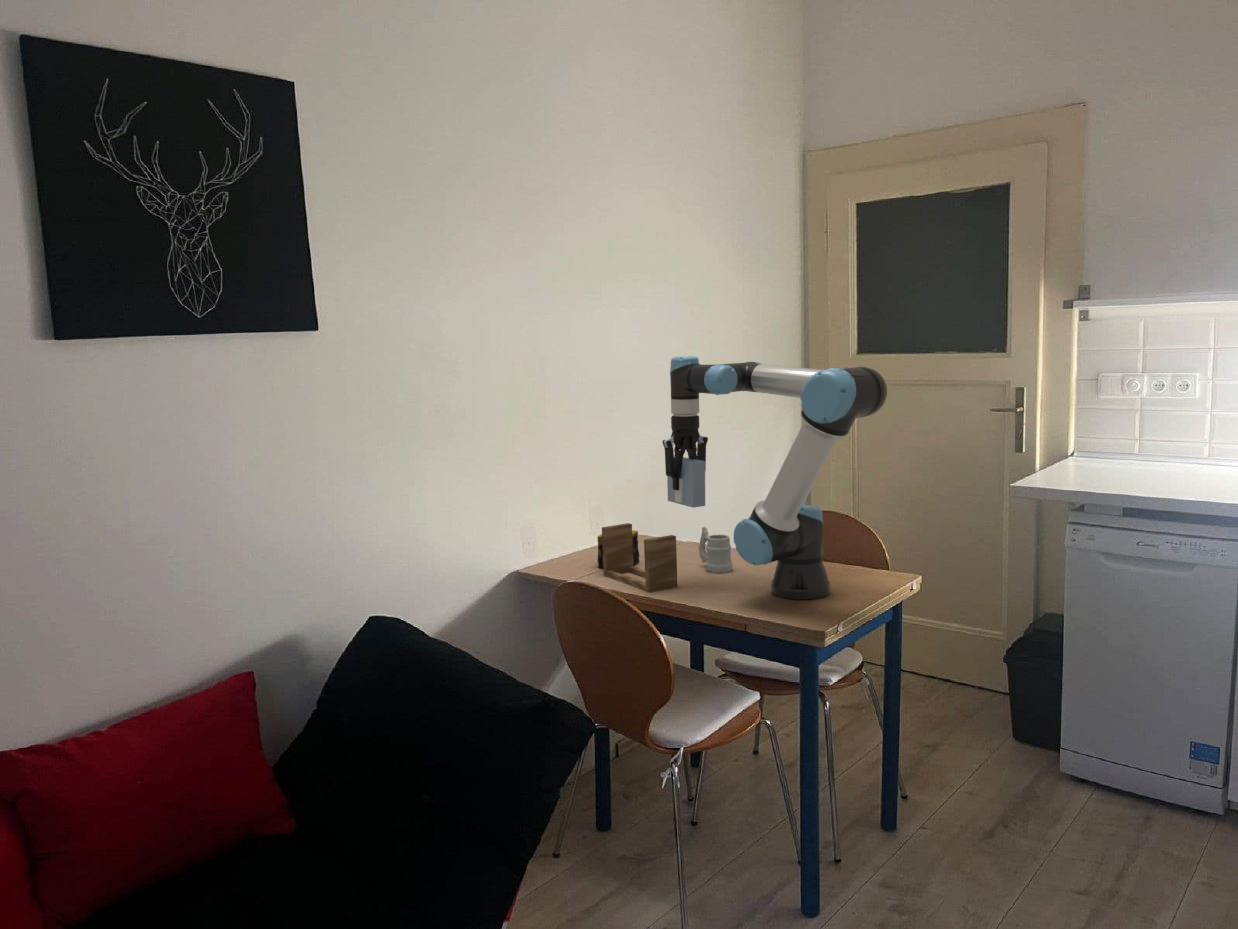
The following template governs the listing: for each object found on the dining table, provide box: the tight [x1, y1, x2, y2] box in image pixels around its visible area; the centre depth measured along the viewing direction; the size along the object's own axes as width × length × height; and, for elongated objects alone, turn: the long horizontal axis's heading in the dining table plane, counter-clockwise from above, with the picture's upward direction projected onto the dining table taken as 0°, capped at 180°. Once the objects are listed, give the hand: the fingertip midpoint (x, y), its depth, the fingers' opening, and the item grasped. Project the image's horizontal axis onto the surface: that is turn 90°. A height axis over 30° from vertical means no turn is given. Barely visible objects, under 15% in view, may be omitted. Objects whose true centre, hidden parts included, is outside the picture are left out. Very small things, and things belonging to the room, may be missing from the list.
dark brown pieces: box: [597, 530, 640, 570], centre depth 276 cm, size 10×10×10 cm
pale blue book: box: [666, 456, 706, 508], centre depth 248 cm, size 12×4×12 cm, turn 31°
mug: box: [698, 526, 734, 574], centre depth 267 cm, size 8×12×12 cm, turn 38°
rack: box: [601, 523, 679, 593], centre depth 257 cm, size 24×9×14 cm, turn 32°
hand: (686, 500), depth 249 cm, fingers closed on pale blue book, 4 cm apart
